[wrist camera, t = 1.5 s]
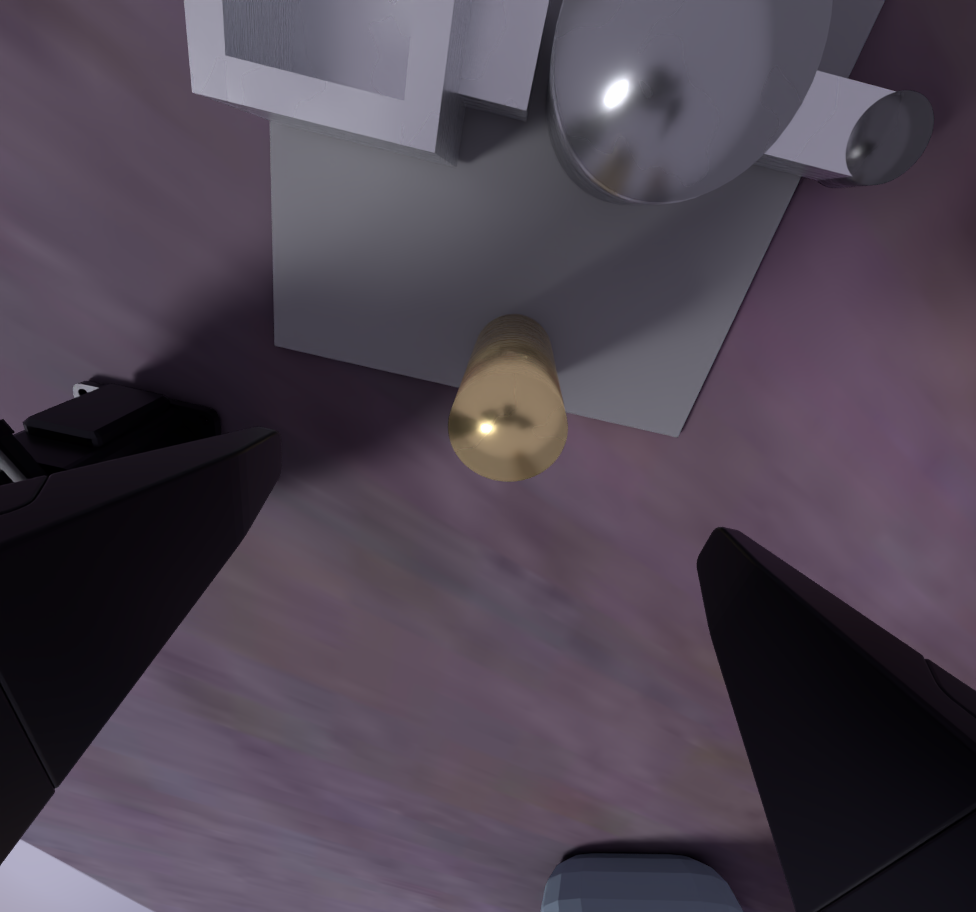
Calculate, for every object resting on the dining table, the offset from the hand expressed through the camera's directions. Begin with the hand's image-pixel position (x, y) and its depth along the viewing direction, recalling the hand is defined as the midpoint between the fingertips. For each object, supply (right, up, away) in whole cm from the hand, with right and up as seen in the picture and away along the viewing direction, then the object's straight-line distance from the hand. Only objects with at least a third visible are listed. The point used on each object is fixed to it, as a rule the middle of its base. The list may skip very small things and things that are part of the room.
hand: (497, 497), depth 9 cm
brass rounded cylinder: (+1, +5, +9) cm, 11 cm away
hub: (+5, +12, +5) cm, 14 cm away
